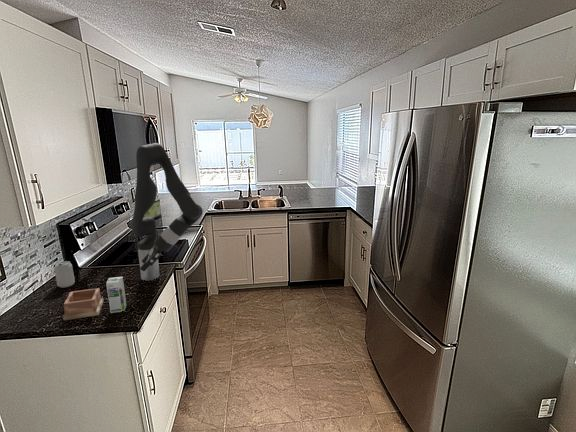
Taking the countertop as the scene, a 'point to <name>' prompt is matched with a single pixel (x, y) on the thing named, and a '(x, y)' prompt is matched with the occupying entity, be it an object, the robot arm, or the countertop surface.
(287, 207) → the countertop surface
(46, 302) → the countertop surface
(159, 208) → the protein box
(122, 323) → the countertop surface
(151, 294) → the countertop surface
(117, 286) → the syrup box
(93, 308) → the wooden tray
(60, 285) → the can
